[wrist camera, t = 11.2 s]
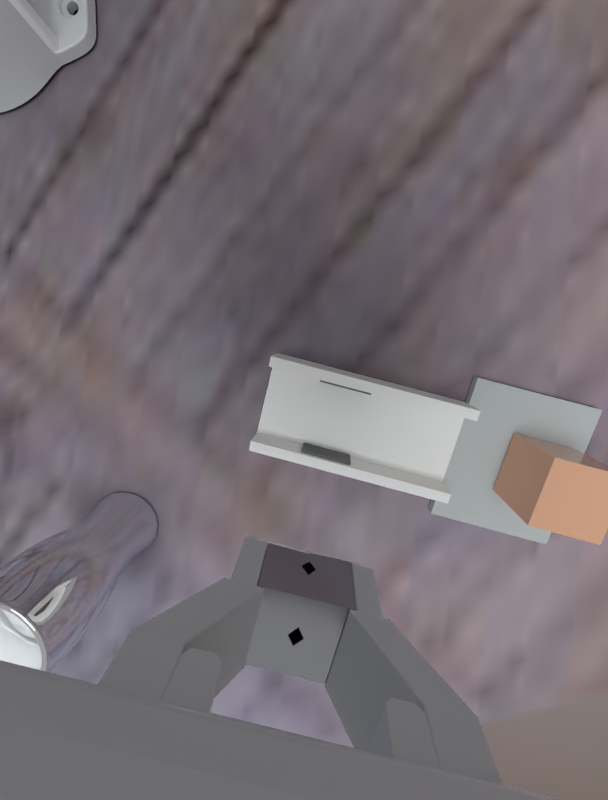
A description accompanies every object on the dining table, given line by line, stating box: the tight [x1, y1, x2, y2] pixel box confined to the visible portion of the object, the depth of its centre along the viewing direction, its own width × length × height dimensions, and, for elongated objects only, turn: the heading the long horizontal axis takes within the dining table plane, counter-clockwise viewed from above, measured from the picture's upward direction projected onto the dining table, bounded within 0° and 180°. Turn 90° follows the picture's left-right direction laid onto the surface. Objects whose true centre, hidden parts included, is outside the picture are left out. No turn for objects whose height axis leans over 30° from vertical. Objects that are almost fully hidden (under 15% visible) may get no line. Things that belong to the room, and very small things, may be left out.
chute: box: [249, 353, 481, 504], centre depth 32 cm, size 8×16×4 cm, turn 75°
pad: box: [429, 376, 602, 544], centre depth 33 cm, size 12×10×1 cm
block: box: [493, 433, 608, 545], centre depth 29 cm, size 5×5×6 cm
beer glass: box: [0, 492, 158, 672], centre depth 30 cm, size 7×7×15 cm
